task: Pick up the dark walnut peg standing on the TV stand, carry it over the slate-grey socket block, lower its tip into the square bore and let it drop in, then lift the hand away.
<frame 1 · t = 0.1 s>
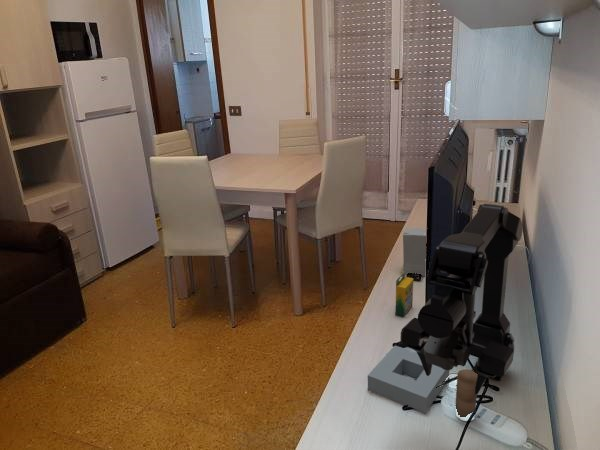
hand: (451, 383, 86), 14 cm above the tv stand, fingers open, 9 cm apart
socket block: (408, 383, 108), on the tv stand
skincare box: (415, 272, 164), on the tv stand
walnut peg: (464, 414, 98), on the tv stand
crayon box: (404, 312, 140), on the tv stand
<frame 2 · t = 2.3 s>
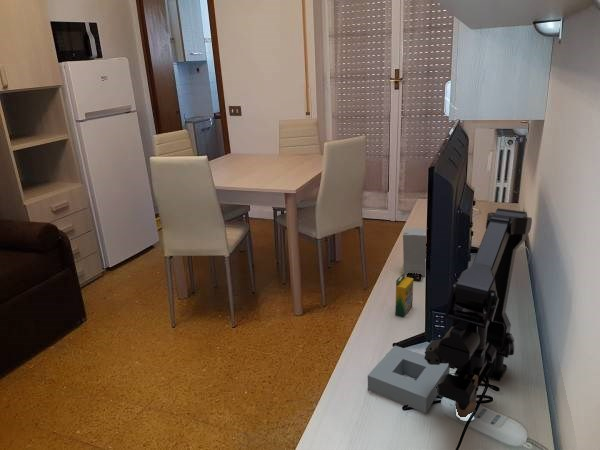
hand: (465, 403, 97), 3 cm above the tv stand, fingers closed on walnut peg, 4 cm apart
walnut peg: (464, 414, 98), on the tv stand, touching gripper
everything else where it was.
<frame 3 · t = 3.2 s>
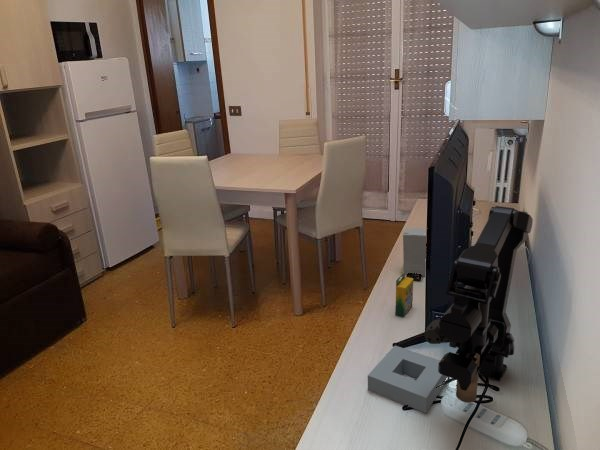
hand: (467, 383, 95), 8 cm above the tv stand, fingers closed on walnut peg, 4 cm apart
walnut peg: (466, 396, 96), point 5 cm above the tv stand, touching gripper
everything else where it was.
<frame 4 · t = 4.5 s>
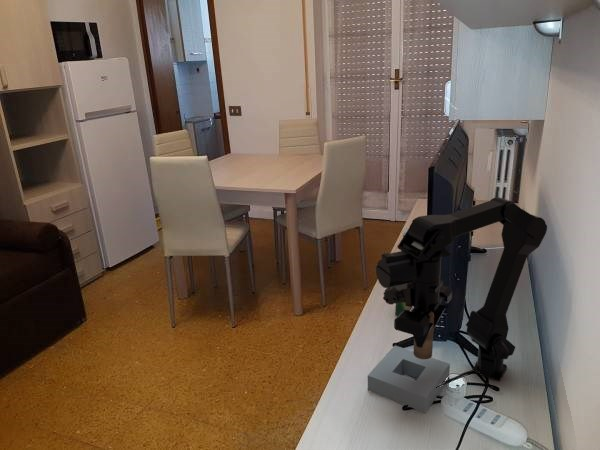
hand: (423, 342, 101), 13 cm above the tv stand, fingers closed on walnut peg, 4 cm apart
walnut peg: (422, 353, 102), point 10 cm above the tv stand, touching gripper
everything else where it was.
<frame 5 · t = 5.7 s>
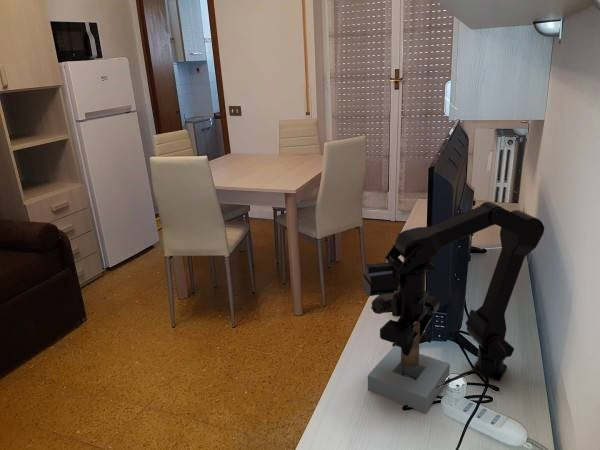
hand: (410, 350, 105), 9 cm above the tv stand, fingers closed on walnut peg, 4 cm apart
walnut peg: (409, 361, 106), point 6 cm above the tv stand, touching gripper
everything else where it was.
when the fingers open (6 cm above the tv stand, at t = 6.7 s): walnut peg drops 3 cm, resting in socket block.
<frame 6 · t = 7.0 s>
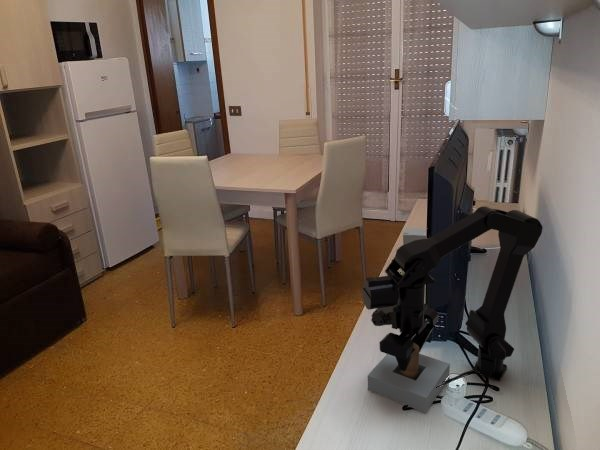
hand: (409, 362, 107), 6 cm above the tv stand, fingers open, 7 cm apart
walnut peg: (409, 383, 109), resting in socket block
everything else where it was.
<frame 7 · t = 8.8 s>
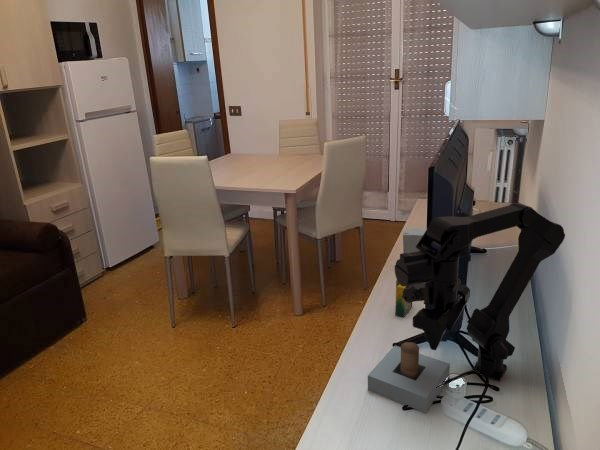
hand: (441, 339, 104), 12 cm above the tv stand, fingers open, 9 cm apart
nothing on the tv stand moved.
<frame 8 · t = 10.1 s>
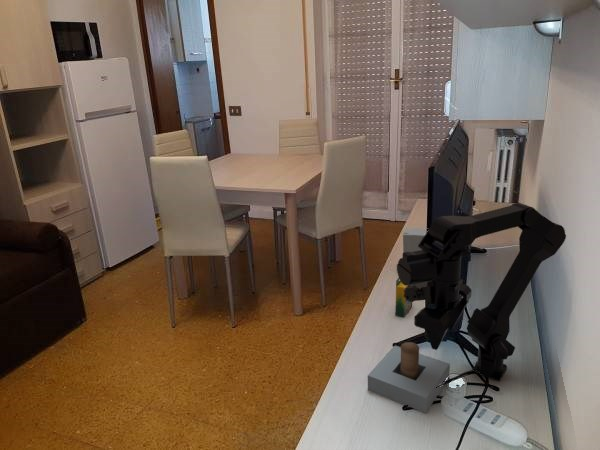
hand: (442, 338, 104), 12 cm above the tv stand, fingers open, 9 cm apart
nothing on the tv stand moved.
at the end: walnut peg 0.0 cm off-centre on the socket block, point 0.0 cm above the socket block's base; walnut peg tilted 0°; the gripper is holding nothing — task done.
